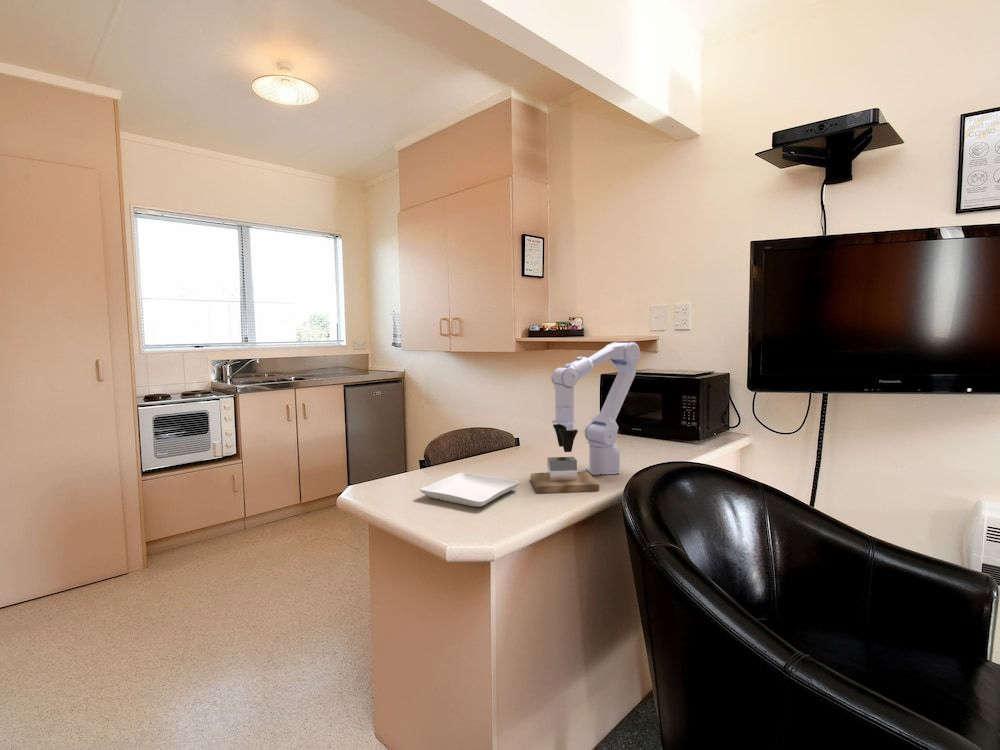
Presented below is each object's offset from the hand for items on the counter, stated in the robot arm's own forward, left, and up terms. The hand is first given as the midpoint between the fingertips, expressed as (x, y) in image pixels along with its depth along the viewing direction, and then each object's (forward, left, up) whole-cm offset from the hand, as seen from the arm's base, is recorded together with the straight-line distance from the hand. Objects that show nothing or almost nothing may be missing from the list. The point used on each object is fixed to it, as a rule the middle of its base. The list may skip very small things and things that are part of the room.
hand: (565, 449), depth 156 cm
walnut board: (+2, +7, -9) cm, 12 cm away
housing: (+2, +7, -7) cm, 11 cm away
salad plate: (+30, +13, -10) cm, 34 cm away
